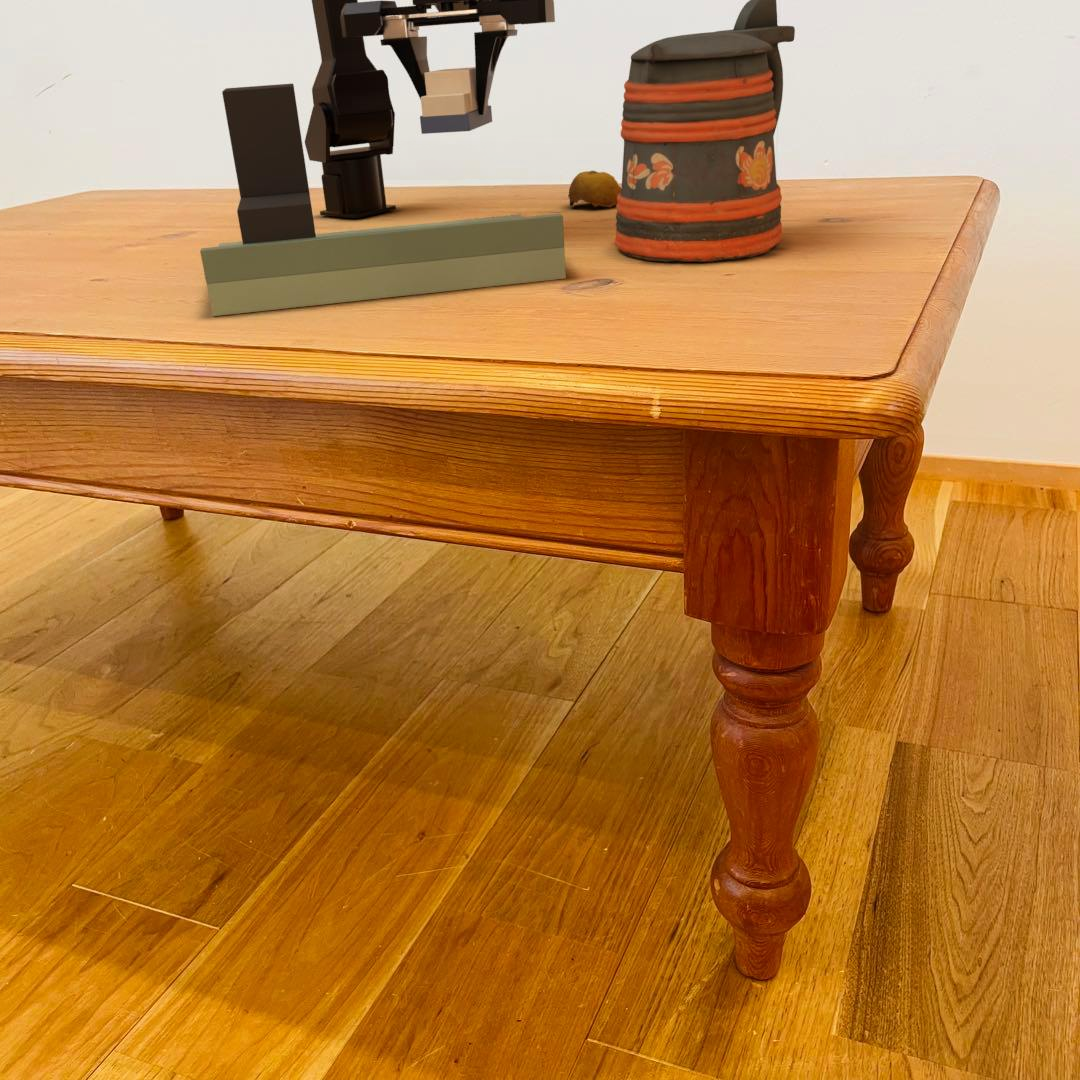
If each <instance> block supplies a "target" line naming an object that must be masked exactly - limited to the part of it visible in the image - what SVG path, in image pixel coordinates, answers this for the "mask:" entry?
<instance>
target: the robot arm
mask: <svg viewBox="0 0 1080 1080" xmlns="http://www.w3.org/2000/svg"><path fill="white" fill-rule="evenodd" d="M554 1H555V0H412V5H408V6H398V5H397V3H396V0H395V1H394V0H370V1H359V0H311V4H312V11H313V16H314V17H313V18H314V22H315V23H314V24H315V29H316V34H317V40H318V45H319V52H320V60H321V63H320V66H319V67H318V71H317V74H316V77H315V79H314V82H313V85H312V87H311V94H312V102H313V106H312V110H311V114H310V119H309V122H308V126H307V130H306V134H305V138H304V146H305V149H306V153H307V156H308V160H309V161H310V162H318V163H321V167H322V173H323V174H321V183H322V191H323V198H324V206H325V209H324V210H319V215H320V216H324V217H337V218H347V219H348V218H349V219H359V218H360V219H361V218H363V217H369V216H374V215H377V214H380V213H381V214H382V213H386V212H389V211H395V210H397V205H396V204H387V199H386V190H385V182H384V173H383V164H382V155H387V156H389V155H393V154H394V143H395V142H394V141H395V124H396V123H395V120H396V119H395V117H396V112H395V110H394V107H393V103H392V99H391V95H390V88H389V78H388V75H387V74H386V71H384V69H377V68H376V66H375V65H374V64H373V62H372V61H371V59H370V58H369V57H368V55H367V51H366V46H365V45H366V44H365V40H364V37H375V36H382V39H380V40H379V41H380V45H381V46H390V47H391V49H392V50H393V52H394V54H395V55H396V56H397V58H398V61H399V62H400V63H401V65H402V67H403V68H404V70H405V72H406V74H407V75H408V77H409V78H410V81H411V82H412V85H413V87H414V89H415V91H416V93H417V95H418V98H419V100H421V97H422V96H427V94H426V84H425V74H424V73H425V72H431V71H430V65H429V60H428V36H426V35H425V36H419V31H420V27H431V26H432V27H433V26H443V25H444V26H445V25H459V24H469V23H471V24H472V23H479V26H481V31H477V32H474V33H473V35H474V36H473V38H474V63H475V64H474V67H476V96H477V104H478V110H479V114H480V115H484V114H485V113H486V109H487V104H488V105H489V99H490V96H491V95H490V94H491V91H492V90H491V88H492V84H493V81H494V75H495V71H496V68H497V64H498V61H499V59H500V55H501V53H502V50H503V48H504V46H505V44H506V41H507V40H508V38H509V37H517V36H518V29H516V25H532V24H533V25H534V24H547V23H556V17H555V15H556V14H555V2H554ZM433 6H434V8H435V9H436V10H437V11H436V12H428V10H431V9H432V7H433ZM366 144H368V145H369V146H362V147H353V148H344V149H337V150H331V148H340V147H350V146H357V145H366Z"/></svg>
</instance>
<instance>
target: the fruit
mask: <svg viewBox="0 0 1080 1080" xmlns="http://www.w3.org/2000/svg"><path fill="white" fill-rule="evenodd" d="M621 189H622V186H621V185H619V184H618V181H617V180H616V179H615V177H614V176H613V175H611V174H610V173H608V172H605V171H601V172H599V171H596V170H588V171H587V170H586V171H581V172H579V173H578V174H577V175H576V176H574V178H573V179H572V181H571V183H570V186H569V189H568V195H567V196H568V200H569V206H570V207H573V206H574V204H579V203H578V202H580V201H583V202H586V203H591V205H592V206H593V207H595V208H596V207H599V206H600V207H603V208H612V207H614V206H615V207H616V206H617V203H618V201H617V196H618V194H619V193H620V192H621Z"/></svg>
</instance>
